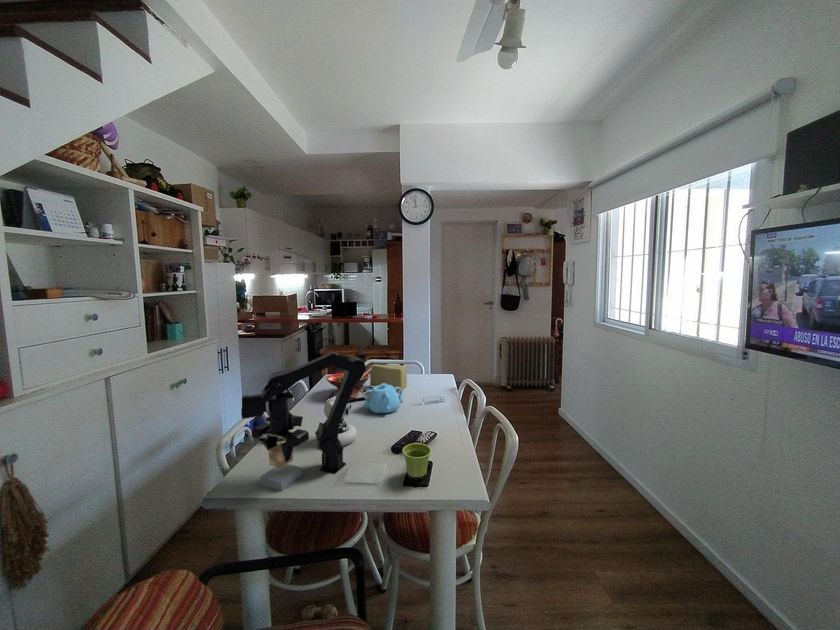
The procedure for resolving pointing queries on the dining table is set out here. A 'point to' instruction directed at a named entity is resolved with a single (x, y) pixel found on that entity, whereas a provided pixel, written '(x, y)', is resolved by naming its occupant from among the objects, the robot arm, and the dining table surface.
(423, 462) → the plant pot
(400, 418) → the dining table surface
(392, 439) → the dining table surface
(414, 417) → the dining table surface
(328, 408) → the decorative figurine
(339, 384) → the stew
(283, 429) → the robot arm
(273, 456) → the oak cube
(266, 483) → the block
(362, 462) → the dining table surface
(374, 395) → the decorative pot
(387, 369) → the cheese
